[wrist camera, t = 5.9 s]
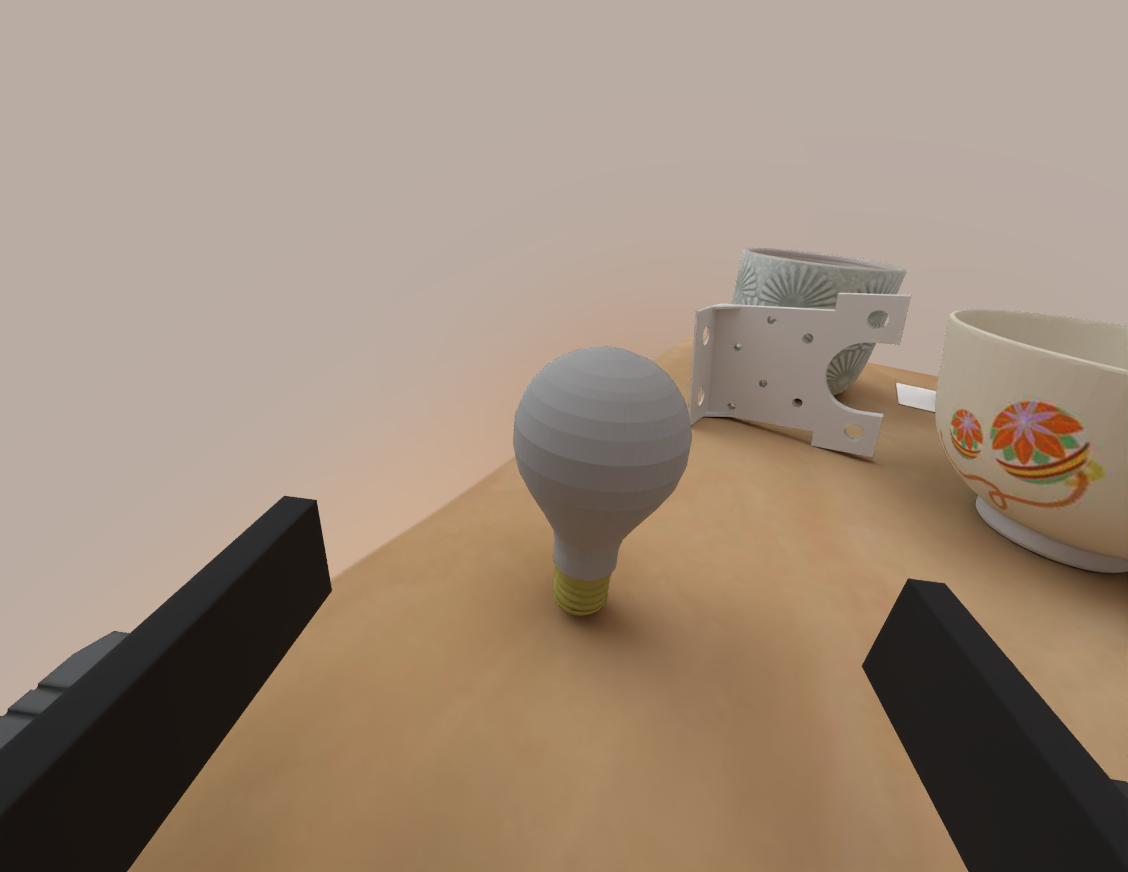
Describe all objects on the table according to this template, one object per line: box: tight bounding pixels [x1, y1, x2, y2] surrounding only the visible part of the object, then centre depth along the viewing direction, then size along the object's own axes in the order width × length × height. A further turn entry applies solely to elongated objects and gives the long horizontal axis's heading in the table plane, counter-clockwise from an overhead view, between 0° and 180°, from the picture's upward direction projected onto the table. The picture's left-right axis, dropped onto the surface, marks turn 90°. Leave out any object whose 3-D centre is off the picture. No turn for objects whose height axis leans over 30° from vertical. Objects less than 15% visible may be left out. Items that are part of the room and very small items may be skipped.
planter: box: [732, 248, 906, 395], centre depth 43 cm, size 12×12×11 cm
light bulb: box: [513, 346, 692, 616], centre depth 16 cm, size 6×6×10 cm
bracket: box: [688, 293, 911, 457], centre depth 31 cm, size 11×4×10 cm, turn 54°
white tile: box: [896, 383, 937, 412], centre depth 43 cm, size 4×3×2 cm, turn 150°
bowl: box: [935, 309, 1128, 573], centre depth 24 cm, size 16×16×10 cm
